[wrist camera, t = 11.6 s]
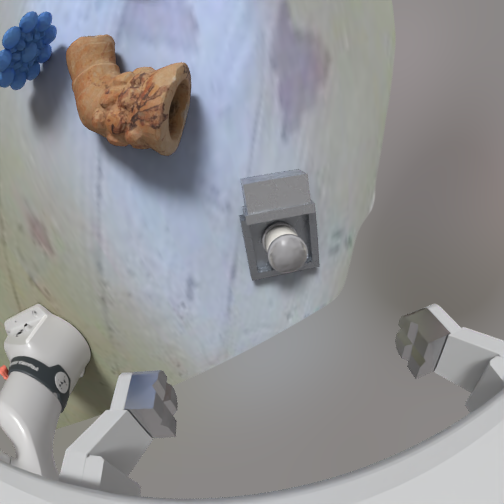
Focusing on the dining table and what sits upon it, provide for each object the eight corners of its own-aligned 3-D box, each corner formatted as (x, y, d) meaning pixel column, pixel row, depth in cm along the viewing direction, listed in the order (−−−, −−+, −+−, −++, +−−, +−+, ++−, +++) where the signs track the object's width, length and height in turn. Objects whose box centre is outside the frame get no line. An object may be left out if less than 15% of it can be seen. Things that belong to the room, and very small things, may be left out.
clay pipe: (128, 166, 37) (222, 137, 33) (81, 190, 28) (189, 153, 24) (97, 55, 29) (186, 9, 25) (45, 55, 20) (145, -14, 16)
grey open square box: (250, 272, 43) (253, 287, 39) (232, 180, 37) (234, 186, 33) (314, 258, 43) (323, 272, 39) (305, 168, 37) (316, 173, 33)
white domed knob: (259, 225, 39) (265, 240, 34) (294, 218, 39) (306, 232, 34) (264, 257, 41) (271, 276, 36) (298, 251, 41) (309, 268, 36)
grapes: (53, 17, 21) (12, -4, 11) (79, 28, 24) (38, 4, 13) (14, 82, 25) (-35, 79, 14) (37, 96, 27) (-14, 94, 16)
